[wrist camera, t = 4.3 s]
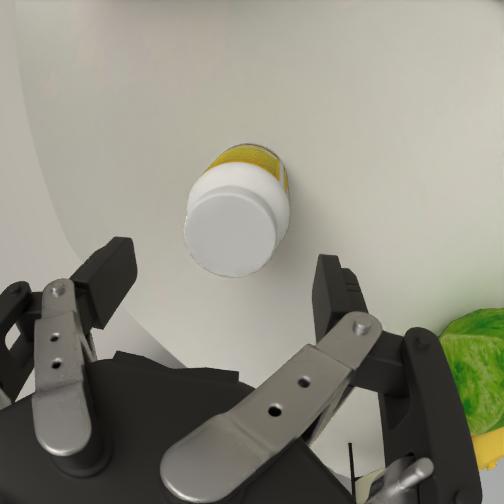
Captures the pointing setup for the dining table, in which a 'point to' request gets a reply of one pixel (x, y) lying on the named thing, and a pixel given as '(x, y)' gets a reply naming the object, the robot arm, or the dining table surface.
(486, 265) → the dining table surface
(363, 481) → the planter
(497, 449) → the teapot
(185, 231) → the pill bottle
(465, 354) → the lettuce
